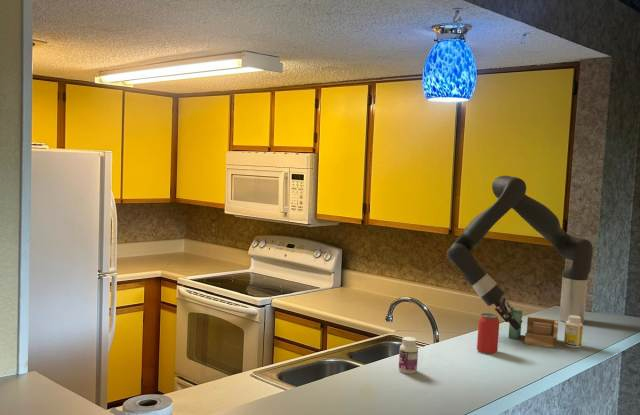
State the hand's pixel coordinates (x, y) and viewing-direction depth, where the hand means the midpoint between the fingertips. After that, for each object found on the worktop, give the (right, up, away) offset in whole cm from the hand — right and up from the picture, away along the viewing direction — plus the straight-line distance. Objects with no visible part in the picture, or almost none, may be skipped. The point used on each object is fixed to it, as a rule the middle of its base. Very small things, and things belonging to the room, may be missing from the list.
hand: (519, 326), depth 222 cm
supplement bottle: (+16, -6, -5) cm, 18 cm away
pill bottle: (-45, -6, -38) cm, 59 cm away
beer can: (-16, -5, -16) cm, 23 cm away
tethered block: (+3, -5, -1) cm, 6 cm away
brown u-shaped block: (+7, -5, -2) cm, 9 cm away
